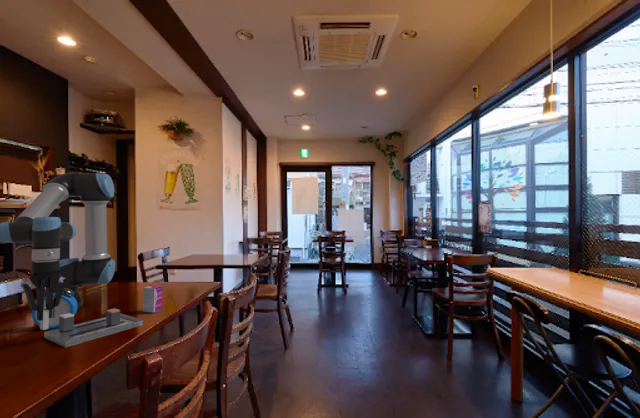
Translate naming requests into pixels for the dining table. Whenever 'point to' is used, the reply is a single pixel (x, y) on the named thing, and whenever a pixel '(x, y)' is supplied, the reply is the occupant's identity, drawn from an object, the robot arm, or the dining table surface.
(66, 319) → the fader white
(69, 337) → the console
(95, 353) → the dining table surface
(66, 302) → the alarm clock
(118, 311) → the fader terracotta
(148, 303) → the supplement box
